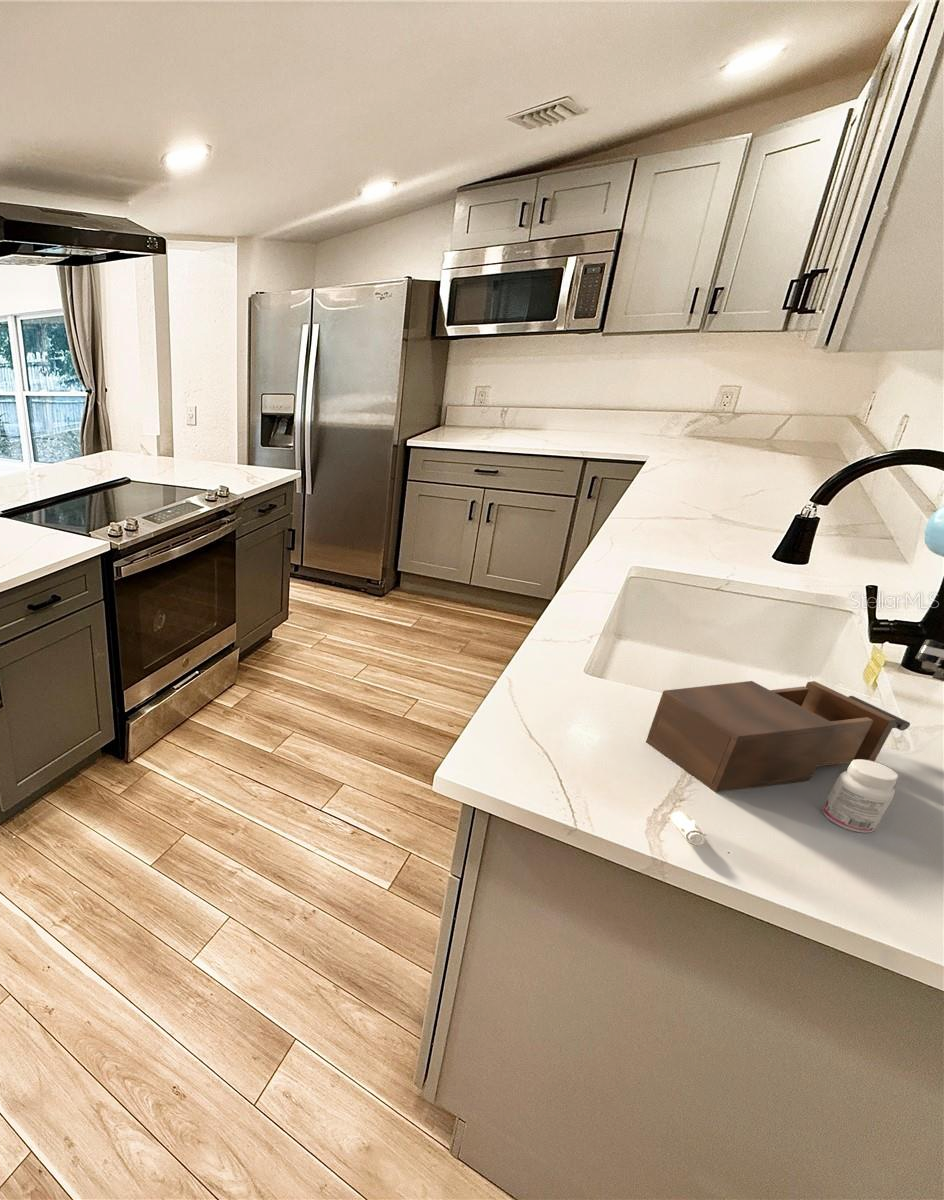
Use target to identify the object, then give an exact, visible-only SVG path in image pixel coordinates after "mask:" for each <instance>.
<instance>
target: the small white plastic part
mask: <svg viewBox="0 0 944 1200" xmlns="http://www.w3.org/2000/svg"><path fill="white" fill-rule="evenodd" d="M670 819H671V822H672V823H673V824H674V825H675V826H676V828H677V829H678V831H679V832H680V833H681V834H682V836H683V837H684V838H685V839H686V841H687V842H688V843H690V844H692V845H696V846H700V845H703V844H704V843H705V841H706V836H707V834H706V832H704V831H703V830H702V829H701V828H700V827H699V826H698V825H697V824H696V821H695V820H694V819H693V820H692V819H691V817H690V816H689V815H688V814H687V813H685V812H683V811H675V812H673V813H672V814H671V816H670Z"/></svg>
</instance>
